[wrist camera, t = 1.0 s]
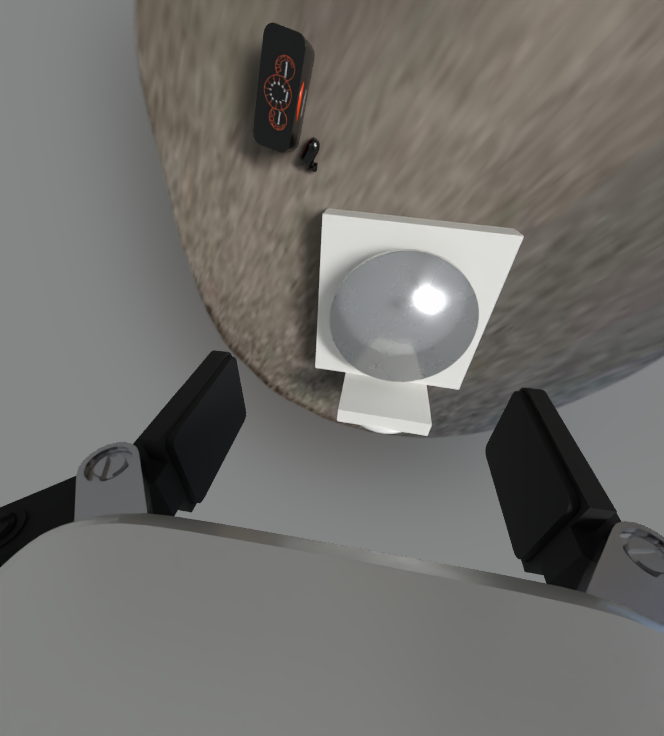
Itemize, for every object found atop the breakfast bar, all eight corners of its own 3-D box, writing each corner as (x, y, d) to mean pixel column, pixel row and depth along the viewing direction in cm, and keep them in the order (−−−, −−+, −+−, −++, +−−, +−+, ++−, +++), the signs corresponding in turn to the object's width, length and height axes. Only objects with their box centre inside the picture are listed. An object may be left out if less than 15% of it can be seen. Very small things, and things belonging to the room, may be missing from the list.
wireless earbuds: (265, 152, 26) (250, 154, 23) (280, 33, 22) (264, 19, 19) (317, 171, 26) (309, 175, 24) (343, 57, 22) (336, 47, 19)
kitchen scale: (327, 208, 28) (305, 232, 21) (514, 228, 26) (557, 262, 19) (318, 369, 39) (302, 421, 32) (449, 389, 37) (462, 448, 30)
